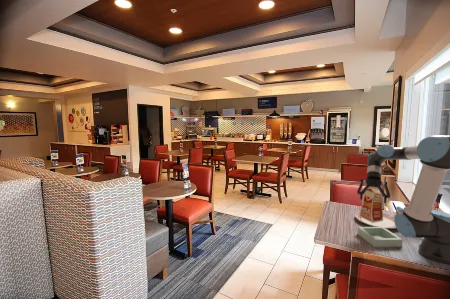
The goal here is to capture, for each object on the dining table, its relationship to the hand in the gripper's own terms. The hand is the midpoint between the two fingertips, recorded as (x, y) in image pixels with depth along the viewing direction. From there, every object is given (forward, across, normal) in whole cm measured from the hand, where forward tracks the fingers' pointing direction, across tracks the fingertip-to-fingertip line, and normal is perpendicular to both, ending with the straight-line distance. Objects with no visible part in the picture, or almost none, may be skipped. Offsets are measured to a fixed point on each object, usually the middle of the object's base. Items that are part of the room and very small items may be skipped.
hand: (372, 206), depth 132 cm
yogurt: (-21, -20, -51) cm, 59 cm away
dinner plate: (-7, -4, -37) cm, 38 cm away
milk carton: (+4, 0, -9) cm, 10 cm away
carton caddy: (+13, -4, -17) cm, 21 cm away
